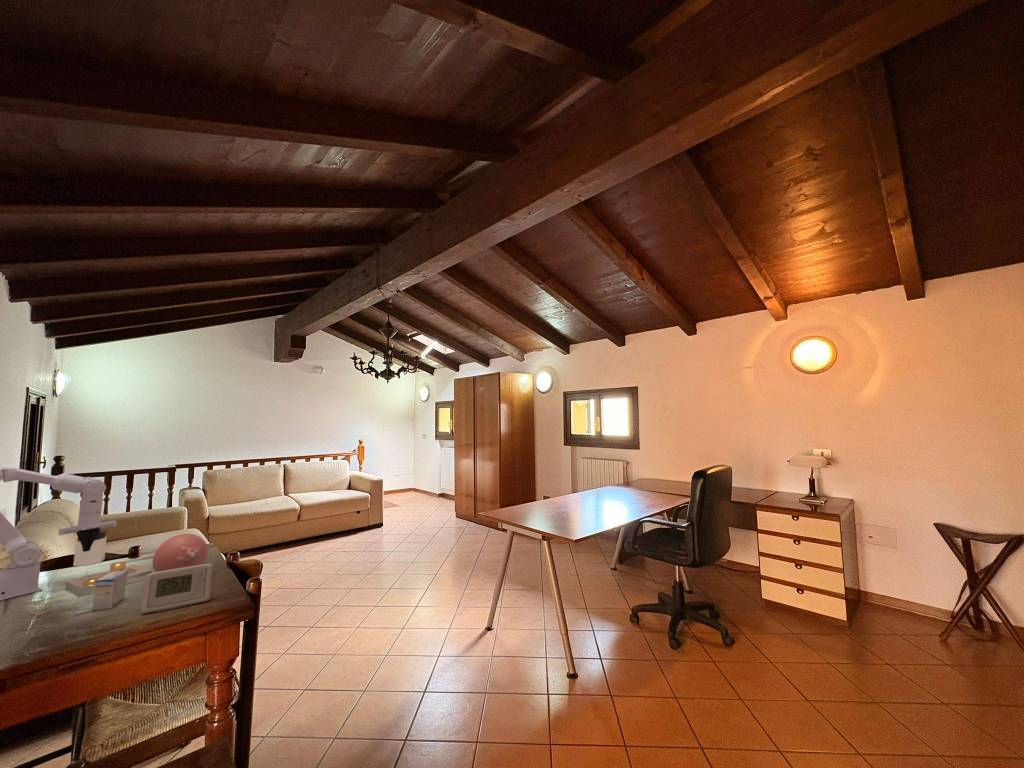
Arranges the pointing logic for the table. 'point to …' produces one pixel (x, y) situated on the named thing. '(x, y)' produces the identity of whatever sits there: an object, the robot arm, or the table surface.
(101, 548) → the jar
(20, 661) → the table surface
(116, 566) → the bushing
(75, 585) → the jig
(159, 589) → the digital clock
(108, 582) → the medicine box
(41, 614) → the table surface
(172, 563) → the pink oval ball
